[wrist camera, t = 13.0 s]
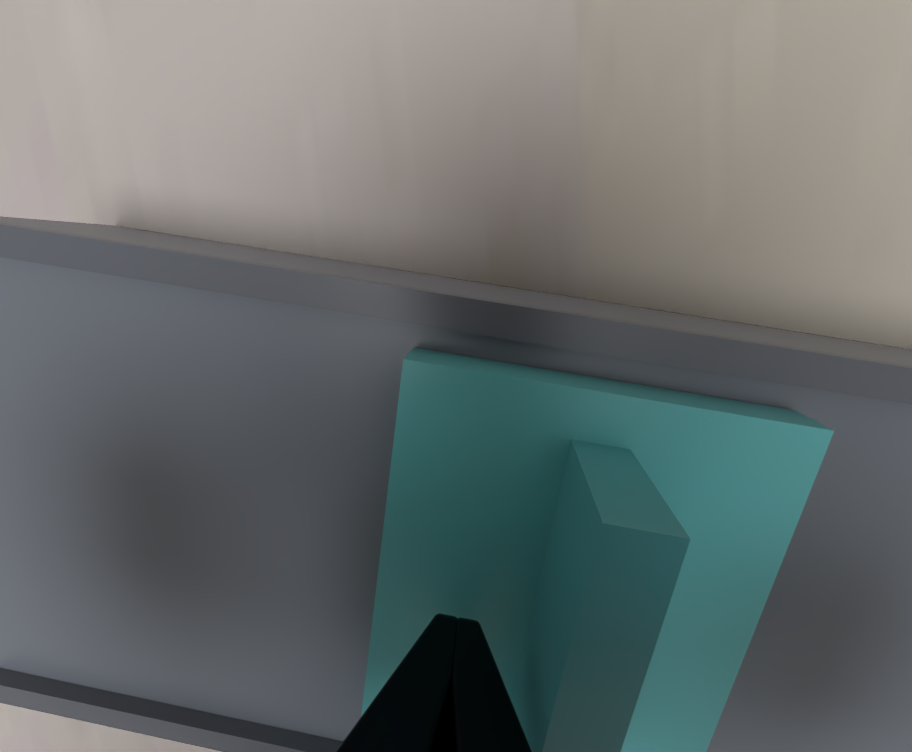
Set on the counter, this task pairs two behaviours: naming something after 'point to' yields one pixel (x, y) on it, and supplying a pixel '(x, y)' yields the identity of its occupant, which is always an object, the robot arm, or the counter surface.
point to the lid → (588, 542)
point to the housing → (366, 485)
